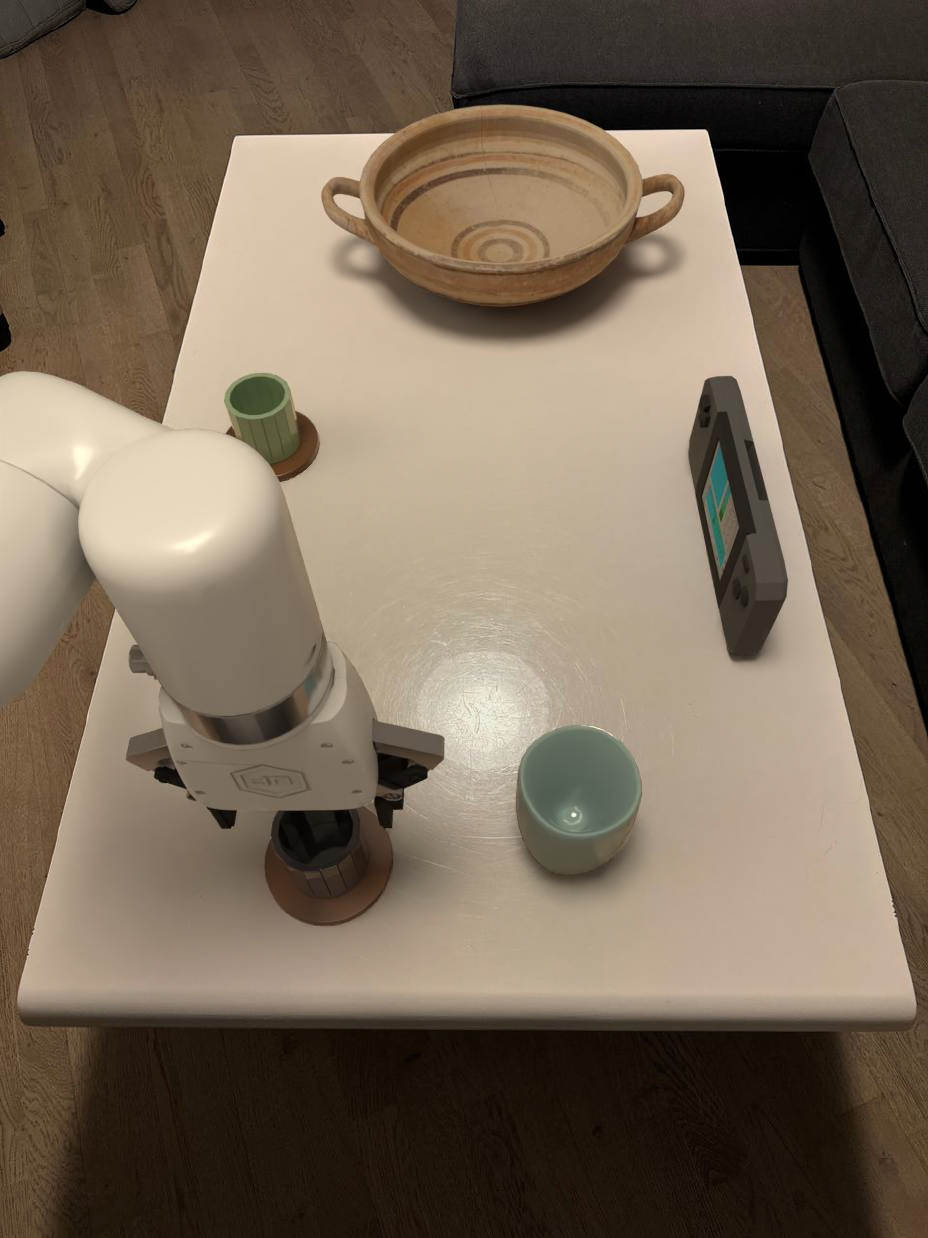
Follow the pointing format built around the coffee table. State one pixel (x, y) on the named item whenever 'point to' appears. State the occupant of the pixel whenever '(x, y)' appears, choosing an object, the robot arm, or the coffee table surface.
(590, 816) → the cup
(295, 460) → the brown dish
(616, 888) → the coffee table surface
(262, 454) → the green grooved mug
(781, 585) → the handheld gaming console
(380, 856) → the dark base
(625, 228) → the ceramic bowl
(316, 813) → the dark bucket
